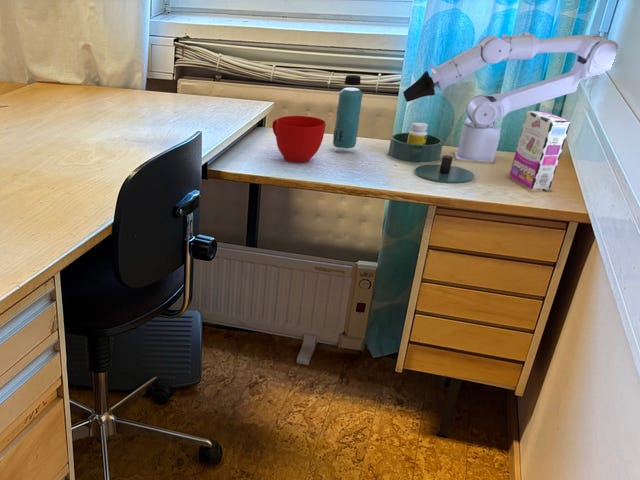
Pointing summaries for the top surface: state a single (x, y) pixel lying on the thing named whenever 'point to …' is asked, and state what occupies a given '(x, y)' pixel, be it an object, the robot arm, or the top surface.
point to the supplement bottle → (418, 134)
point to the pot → (415, 149)
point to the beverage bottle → (348, 114)
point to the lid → (444, 172)
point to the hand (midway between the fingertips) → (404, 97)
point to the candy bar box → (539, 149)
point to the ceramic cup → (298, 137)
